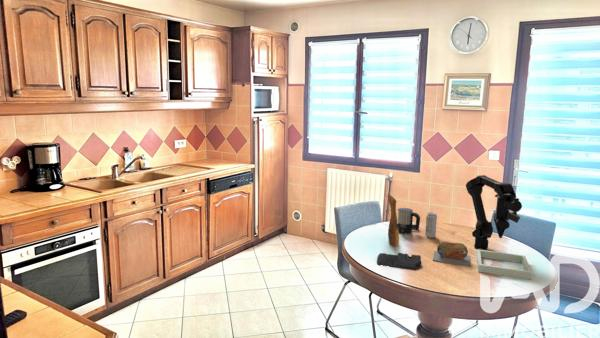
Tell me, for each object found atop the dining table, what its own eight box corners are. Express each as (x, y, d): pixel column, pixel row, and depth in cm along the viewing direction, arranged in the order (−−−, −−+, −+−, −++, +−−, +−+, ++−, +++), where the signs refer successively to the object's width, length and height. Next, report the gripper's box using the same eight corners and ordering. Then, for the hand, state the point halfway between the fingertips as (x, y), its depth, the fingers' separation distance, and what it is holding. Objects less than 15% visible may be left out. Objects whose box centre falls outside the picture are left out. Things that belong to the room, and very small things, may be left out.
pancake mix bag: (387, 247, 230) (390, 199, 226) (385, 236, 249) (387, 192, 244) (399, 248, 229) (402, 200, 225) (396, 237, 248) (398, 192, 243)
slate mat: (432, 260, 212) (432, 259, 212) (434, 251, 225) (434, 250, 225) (470, 266, 206) (470, 265, 206) (469, 256, 218) (469, 255, 218)
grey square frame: (477, 271, 199) (478, 264, 199) (476, 255, 220) (477, 249, 220) (531, 279, 191) (532, 272, 190) (524, 262, 212) (525, 255, 212)
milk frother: (396, 233, 255) (398, 210, 253) (396, 226, 270) (397, 204, 268) (420, 235, 252) (421, 212, 250) (418, 228, 267) (419, 206, 265)
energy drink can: (437, 237, 248) (439, 214, 246) (428, 238, 247) (430, 214, 244) (431, 234, 254) (433, 211, 252) (423, 235, 252) (424, 212, 250)
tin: (436, 256, 217) (437, 241, 215) (436, 254, 220) (438, 239, 218) (467, 260, 211) (468, 245, 210) (467, 258, 214) (468, 243, 213)
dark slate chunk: (378, 255, 220) (379, 247, 219) (421, 260, 214) (421, 252, 213) (375, 266, 205) (375, 257, 205) (420, 272, 199) (421, 262, 198)
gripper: (522, 213, 203) (518, 243, 205) (517, 204, 220) (514, 232, 223) (497, 210, 207) (494, 240, 209) (494, 202, 224) (492, 229, 227)
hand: (499, 235), depth 217 cm, fingers open, 9 cm apart
